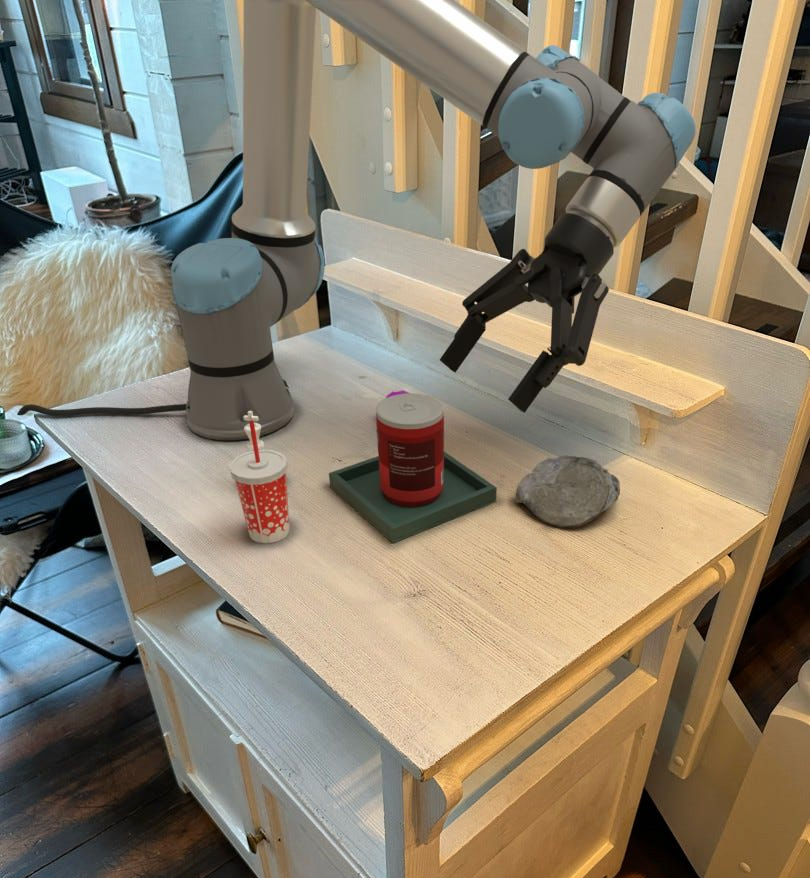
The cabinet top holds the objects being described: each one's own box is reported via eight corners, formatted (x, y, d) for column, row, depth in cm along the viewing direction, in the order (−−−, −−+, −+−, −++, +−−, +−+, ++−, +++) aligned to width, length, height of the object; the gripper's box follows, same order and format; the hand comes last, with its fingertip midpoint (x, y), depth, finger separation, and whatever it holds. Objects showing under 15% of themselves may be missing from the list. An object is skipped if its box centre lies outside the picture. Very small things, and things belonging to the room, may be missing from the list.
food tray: (329, 486, 94) (328, 472, 93) (426, 452, 100) (426, 439, 99) (392, 543, 84) (392, 528, 83) (496, 501, 90) (497, 487, 89)
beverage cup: (303, 518, 88) (288, 409, 80) (286, 549, 84) (270, 437, 75) (253, 514, 89) (234, 406, 81) (234, 545, 84) (212, 433, 76)
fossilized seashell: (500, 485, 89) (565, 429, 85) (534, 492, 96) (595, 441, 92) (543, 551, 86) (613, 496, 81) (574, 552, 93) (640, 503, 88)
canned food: (416, 467, 96) (414, 386, 90) (457, 493, 91) (458, 409, 84) (367, 487, 93) (361, 405, 86) (406, 515, 87) (403, 430, 81)
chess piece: (273, 496, 92) (262, 422, 87) (235, 493, 93) (222, 419, 87) (286, 475, 96) (276, 403, 90) (250, 472, 97) (238, 401, 91)
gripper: (686, 277, 81) (566, 440, 83) (535, 230, 98) (439, 366, 101) (659, 233, 75) (532, 409, 78) (504, 191, 93) (404, 336, 95)
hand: (479, 385), depth 89 cm, fingers open, 13 cm apart
